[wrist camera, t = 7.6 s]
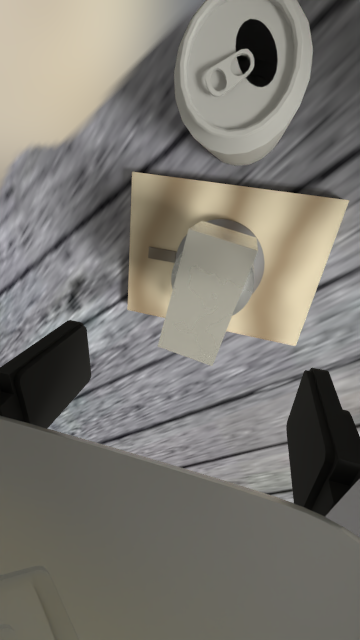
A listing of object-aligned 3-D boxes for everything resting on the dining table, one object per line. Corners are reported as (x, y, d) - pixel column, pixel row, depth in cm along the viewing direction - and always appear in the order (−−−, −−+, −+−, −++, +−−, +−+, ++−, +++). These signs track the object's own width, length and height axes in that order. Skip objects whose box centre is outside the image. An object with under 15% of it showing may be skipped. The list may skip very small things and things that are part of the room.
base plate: (344, 199, 25) (352, 200, 23) (293, 339, 32) (296, 350, 30) (137, 172, 28) (128, 171, 26) (132, 305, 35) (124, 312, 33)
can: (302, 133, 24) (343, 89, 13) (224, 183, 27) (206, 179, 16) (267, 38, 22) (282, -104, 11) (187, 103, 25) (139, 39, 14)
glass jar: (197, 211, 26) (168, 222, 17) (269, 233, 25) (279, 257, 16) (171, 305, 30) (139, 353, 22) (231, 326, 30) (223, 383, 21)
